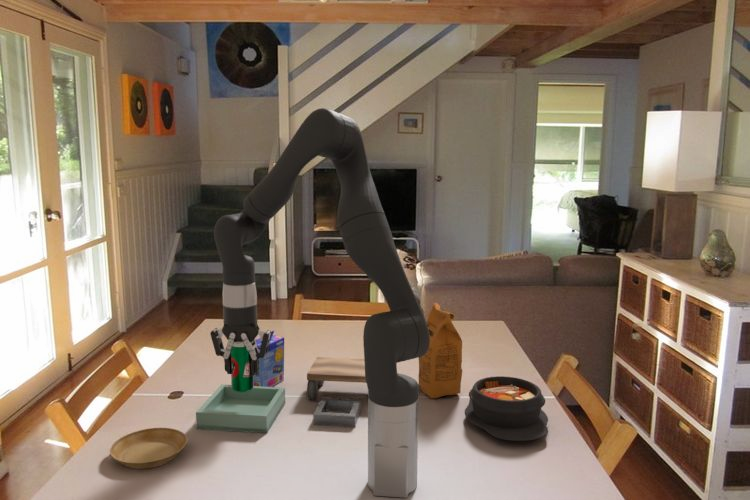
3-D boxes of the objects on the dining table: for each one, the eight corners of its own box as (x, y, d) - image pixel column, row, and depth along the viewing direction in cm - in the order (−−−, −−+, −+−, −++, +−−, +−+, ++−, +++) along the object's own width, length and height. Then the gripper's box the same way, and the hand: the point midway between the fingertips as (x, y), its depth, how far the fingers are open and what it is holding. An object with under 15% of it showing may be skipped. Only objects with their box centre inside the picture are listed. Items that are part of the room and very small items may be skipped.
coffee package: (449, 379, 168) (451, 300, 164) (465, 397, 156) (467, 312, 152) (413, 382, 166) (414, 301, 162) (426, 401, 154) (428, 314, 150)
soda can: (248, 394, 142) (247, 343, 139) (227, 392, 143) (226, 342, 140) (257, 385, 146) (255, 336, 144) (237, 384, 147) (235, 335, 145)
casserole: (453, 401, 154) (453, 369, 152) (526, 398, 156) (527, 366, 154) (480, 451, 129) (481, 413, 128) (566, 447, 131) (569, 409, 130)
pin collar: (355, 427, 140) (355, 416, 139) (313, 424, 141) (313, 414, 140) (360, 409, 149) (360, 399, 149) (321, 407, 150) (321, 397, 150)
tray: (266, 433, 137) (266, 416, 136) (196, 429, 138) (195, 412, 138) (285, 403, 152) (285, 387, 152) (222, 399, 154) (221, 384, 153)
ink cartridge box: (262, 393, 158) (261, 338, 156) (245, 389, 161) (244, 334, 158) (285, 380, 167) (284, 327, 165) (269, 376, 170) (267, 324, 167)
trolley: (379, 406, 151) (379, 379, 149) (306, 402, 153) (305, 375, 151) (385, 383, 165) (385, 358, 163) (318, 380, 167) (317, 355, 165)
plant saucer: (200, 456, 127) (200, 444, 127) (128, 483, 117) (127, 470, 117) (168, 432, 138) (167, 421, 137) (99, 454, 128) (98, 443, 127)
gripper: (202, 305, 138) (206, 378, 141) (266, 307, 136) (268, 381, 139) (215, 296, 145) (218, 366, 148) (275, 298, 144) (277, 369, 147)
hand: (242, 373), depth 144 cm, fingers closed on soda can, 5 cm apart
